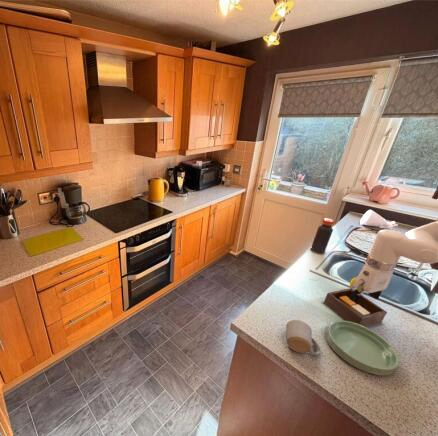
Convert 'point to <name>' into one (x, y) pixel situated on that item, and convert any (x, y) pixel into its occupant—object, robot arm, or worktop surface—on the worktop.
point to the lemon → (354, 282)
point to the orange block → (347, 301)
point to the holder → (350, 315)
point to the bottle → (322, 236)
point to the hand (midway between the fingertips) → (363, 298)
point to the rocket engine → (376, 220)
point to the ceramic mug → (300, 337)
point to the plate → (362, 347)
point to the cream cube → (360, 310)
